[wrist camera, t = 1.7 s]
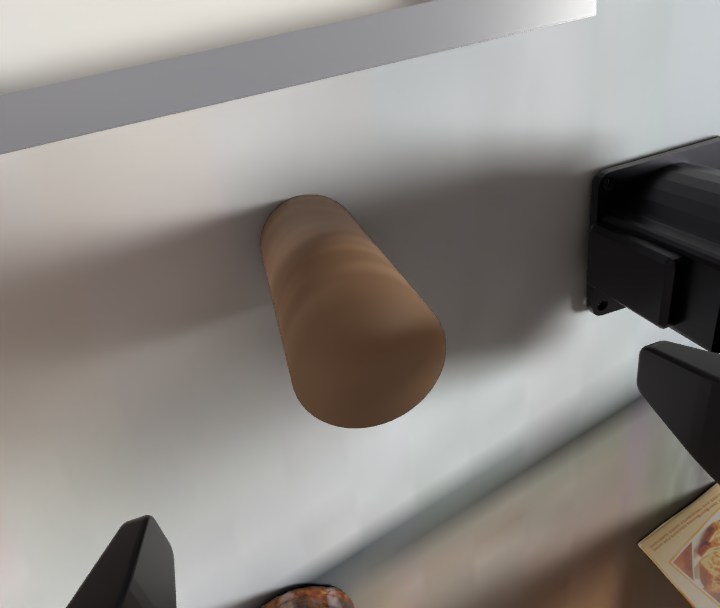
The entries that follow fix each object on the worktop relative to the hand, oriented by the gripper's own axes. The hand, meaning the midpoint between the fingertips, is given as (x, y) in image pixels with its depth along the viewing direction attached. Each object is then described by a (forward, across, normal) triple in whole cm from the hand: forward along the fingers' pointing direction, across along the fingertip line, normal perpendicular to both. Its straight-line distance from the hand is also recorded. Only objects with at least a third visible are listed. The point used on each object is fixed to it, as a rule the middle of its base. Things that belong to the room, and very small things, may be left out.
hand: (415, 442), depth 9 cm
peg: (+10, 0, 0) cm, 11 cm away
